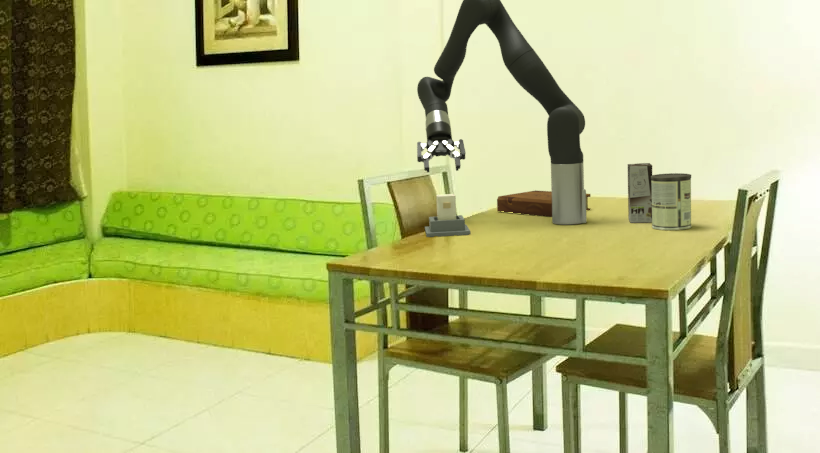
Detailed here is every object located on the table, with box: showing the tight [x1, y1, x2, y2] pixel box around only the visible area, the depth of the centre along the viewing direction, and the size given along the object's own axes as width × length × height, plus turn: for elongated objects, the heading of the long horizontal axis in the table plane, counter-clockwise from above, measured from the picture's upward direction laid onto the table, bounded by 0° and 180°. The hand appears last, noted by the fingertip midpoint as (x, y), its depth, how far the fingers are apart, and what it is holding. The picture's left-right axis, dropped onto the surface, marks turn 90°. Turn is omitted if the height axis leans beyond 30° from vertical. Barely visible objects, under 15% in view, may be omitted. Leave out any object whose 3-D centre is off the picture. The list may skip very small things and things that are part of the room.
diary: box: [496, 190, 592, 218], centre depth 273 cm, size 23×19×6 cm
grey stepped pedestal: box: [424, 214, 471, 238], centre depth 240 cm, size 12×13×4 cm
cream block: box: [435, 193, 457, 220], centre depth 239 cm, size 5×6×10 cm
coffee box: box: [627, 162, 653, 224], centre depth 243 cm, size 9×6×16 cm
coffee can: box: [651, 172, 692, 231], centre depth 228 cm, size 10×10×14 cm
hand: (442, 169), depth 249 cm, fingers open, 8 cm apart
